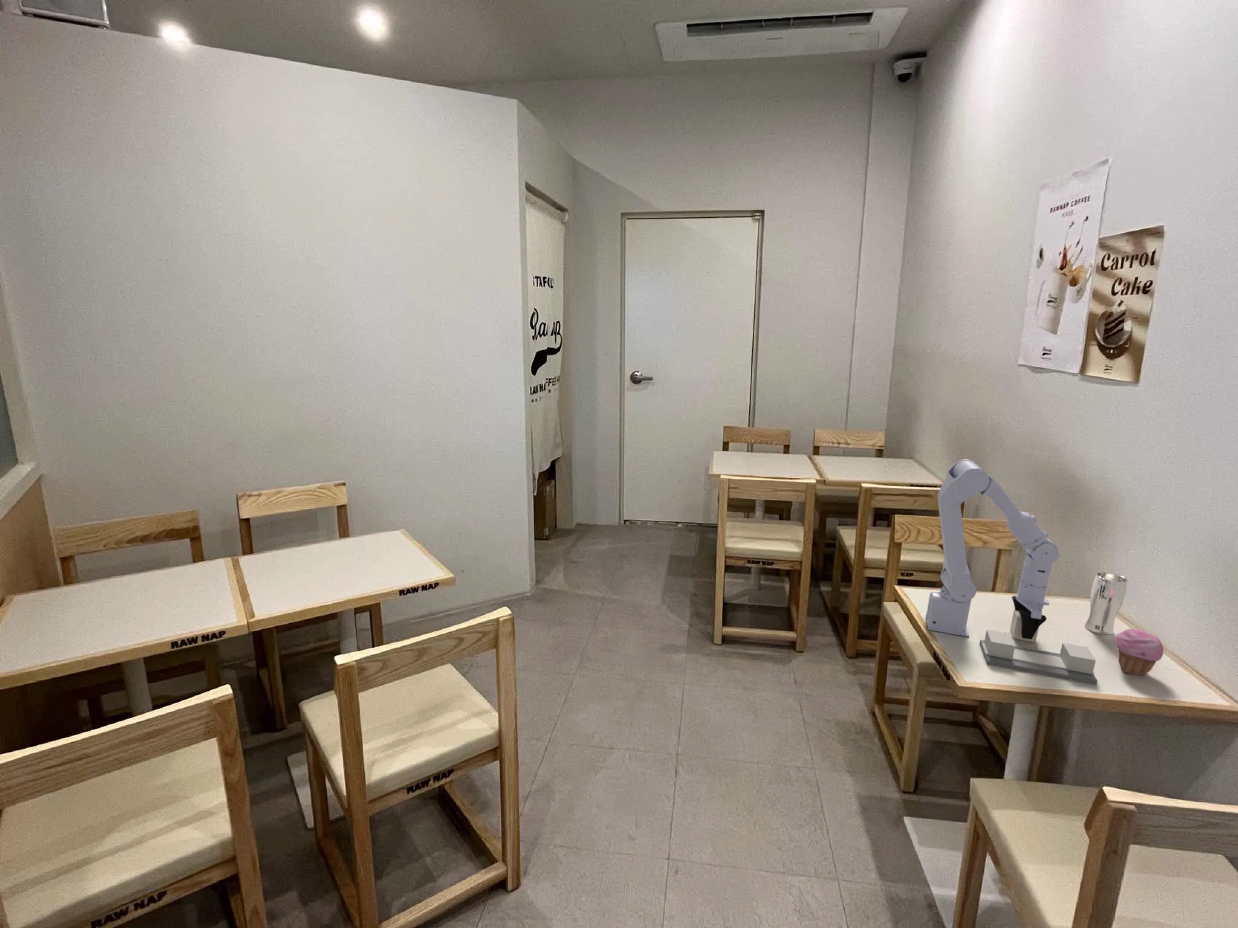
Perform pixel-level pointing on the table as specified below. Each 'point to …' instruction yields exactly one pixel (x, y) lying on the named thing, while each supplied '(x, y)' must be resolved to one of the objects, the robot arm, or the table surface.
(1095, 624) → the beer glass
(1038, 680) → the table surface
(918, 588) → the table surface
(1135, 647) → the cupcake
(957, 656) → the table surface
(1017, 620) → the block
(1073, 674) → the rail board
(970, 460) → the robot arm
